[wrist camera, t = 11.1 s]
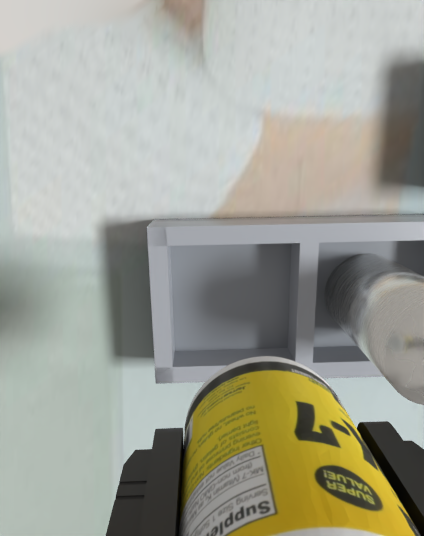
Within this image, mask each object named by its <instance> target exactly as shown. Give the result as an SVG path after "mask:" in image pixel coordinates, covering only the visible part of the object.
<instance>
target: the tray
mask: <svg viewBox="0 0 424 536" xmlns="http://www.w3.org/2000/svg"><path fill="white" fill-rule="evenodd" d="M147 240H148V257H149V274H150V292H151V309H152V326H153V343H154V361H155V378H156V383H185V382H206V381H207V380H208V379H209V378H210V377H211V376H213V375H214V374H215V373H216V372H218V371H219V370H221V369H222V368H224V367H226V366H228V365H230V364H232V363H234V362H237V361H240V360H243V359H247V358H252V357H261V356H274V357H281V358H285V359H289V360H292V361H295V362H297V363H300V364H302V365H304V366H306V367H308V368H309V369H311V370H313V371H314V372H315V373H317V374H318V375H319V376H320V377H322V378H349V377H381V376H383V375H382V373H381V372H380V371H379V370H378V369H377V368H376V367H375V365H374V364H373V363H372V362H371V361H370V360H369V359H368V357H367V356H366V355H365V354H364V353H363V352H362V351H361V349H360V348H359V347H358V346H357V345H356V344H355V343H354V341H353V340H352V339H351V338H350V337H349V336H348V335H347V333H346V332H345V331H344V330H343V329H342V328H341V327H340V325H339V324H338V323H337V322H336V321H335V320H334V319H333V317H332V316H331V315H330V313H329V312H328V310H327V307H326V304H325V299H324V293H325V287H326V283H327V281H328V278H329V276H330V275H331V273H332V272H333V270H334V269H335V268H336V267H337V266H338V265H339V264H340V263H342V262H343V261H345V260H346V259H348V258H350V257H352V256H355V255H359V254H366V253H371V254H378V255H381V256H383V257H386V258H388V259H390V260H392V261H394V262H396V263H398V264H400V265H402V266H404V267H406V268H408V269H410V270H412V271H414V272H416V273H418V274H420V275H422V276H424V214H408V215H358V216H308V217H258V218H208V219H158V220H153V221H152V222H151V223H150V224H149V225H148V226H147Z"/></svg>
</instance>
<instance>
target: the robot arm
mask: <svg viewBox="0 0 424 536" xmlns="http://www.w3.org/2000/svg"><path fill="white" fill-rule="evenodd" d="M357 430H358V432H359V433H360V435H361V437H362V439H363V440H364V442H365V443H366V445H367V447H368V448H369V450H370V452H371V453H372V455H373V457H374V458H375V460H376V462H377V463H378V465H379V466H380V468H381V470H382V471H383V473H384V475H385V477H386V478H387V480H388V482H389V484H390V485H391V487H392V489H393V490H394V492H395V493H396V495H397V497H398V499H399V500H400V502H401V503H402V505H403V507H404V508H405V510H406V512H407V513H408V515H409V517H410V518H411V520H412V522H413V523H414V525H415V526H416V528H417V530H418V532H419V534H420V535H421V536H424V449H422V448H421V447H420V446H418V445H417V444H415V443H414V442H413V441H403V439H402V438H401V437H400V435H399V434H398V433H397V431H396V430H395V429H394V427H393V426H392V425H391V424H390V423H389V422H360V423H359V424H358V427H357ZM183 454H184V444H183V428H168V429H156V430H155V435H154V441H153V447H152V449H148V450H135V451H134V452H133V454H132V455H131V456H130V458H129V459H128V460H127V461H126V463H125V464H124V466H123V470H122V474H121V478H120V484H119V486H118V490H117V494H116V500H115V502H114V506H113V509H112V513H111V517H110V521H109V525H108V529H107V533H106V536H179V519H180V502H181V485H182V470H183Z"/></svg>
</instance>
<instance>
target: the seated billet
mask: <svg viewBox="0 0 424 536" xmlns="http://www.w3.org/2000/svg"><path fill="white" fill-rule="evenodd" d="M324 299H325V304H326V307H327V310H328V312H329V313H330V315H331V316H332V317H333V319H334V320H335V321H336V322H337V323H338V324H339V325H340V327H341V328H342V329H343V330H344V331H345V332H346V333H347V335H348V336H349V337H350V338H351V339H352V340H353V341H354V343H355V344H356V345H357V346H358V347H359V348H360V349H361V351H362V352H363V353H364V354H365V355H366V356H367V357H368V359H369V360H370V361H371V362H372V363H373V364H374V365H375V367H376V368H377V369H378V370H379V371H380V372H381V373H382V375H383V376H384V377H385V378H386V379H387V380H388V381H389V383H390V384H391V385H392V386H393V387H394V388H395V389H396V390H397V392H398V393H400V394H401V395H402V396H403V397H405V398H407V399H408V400H410V401H412V402H415V403H418V404H422V405H424V276H422V275H420V274H418V273H416V272H414V271H412V270H410V269H408V268H406V267H404V266H402V265H400V264H398V263H396V262H394V261H392V260H390V259H388V258H386V257H383V256H381V255H378V254H371V253H366V254H359V255H355V256H352V257H350V258H348V259H346V260H345V261H343V262H342V263H340V264H339V265H338V266H337V267H336V268H335V269H334V270H333V272H332V273H331V275H330V276H329V278H328V281H327V283H326V287H325V293H324Z"/></svg>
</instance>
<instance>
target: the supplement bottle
mask: <svg viewBox="0 0 424 536" xmlns="http://www.w3.org/2000/svg"><path fill="white" fill-rule="evenodd" d="M179 536H421V535H420V534H419V532H418V530H417V528H416V526H415V525H414V523H413V522H412V520H411V518H410V517H409V515H408V513H407V512H406V510H405V508H404V507H403V505H402V503H401V502H400V500H399V499H398V497H397V495H396V493H395V492H394V490H393V489H392V487H391V485H390V484H389V482H388V480H387V478H386V477H385V475H384V473H383V471H382V470H381V468H380V466H379V465H378V463H377V462H376V460H375V458H374V457H373V455H372V453H371V452H370V450H369V448H368V447H367V445H366V443H365V442H364V440H363V439H362V437H361V435H360V433H359V432H358V430H357V429H356V427H355V425H354V424H353V422H352V420H351V419H350V417H349V415H348V414H347V412H346V410H345V409H344V407H343V405H342V404H341V402H340V400H339V398H338V397H337V395H336V394H335V392H334V391H333V390H332V388H331V387H330V386H329V385H328V383H327V382H326V381H325V380H324V379H323V378H322V377H320V376H319V375H318V374H317V373H315V372H314V371H313V370H311V369H309V368H308V367H306V366H304V365H302V364H300V363H297V362H295V361H292V360H289V359H285V358H281V357H274V356H261V357H252V358H247V359H243V360H240V361H237V362H234V363H232V364H230V365H228V366H226V367H224V368H222V369H221V370H219V371H218V372H216V373H215V374H214V375H213V376H211V377H210V378H209V379H208V380H207V381H206V382H205V383H204V384H203V386H202V387H201V388H200V389H199V391H198V392H197V394H196V395H195V397H194V399H193V401H192V403H191V405H190V408H189V410H188V413H187V417H186V424H185V437H184V454H183V470H182V485H181V502H180V519H179Z"/></svg>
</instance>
